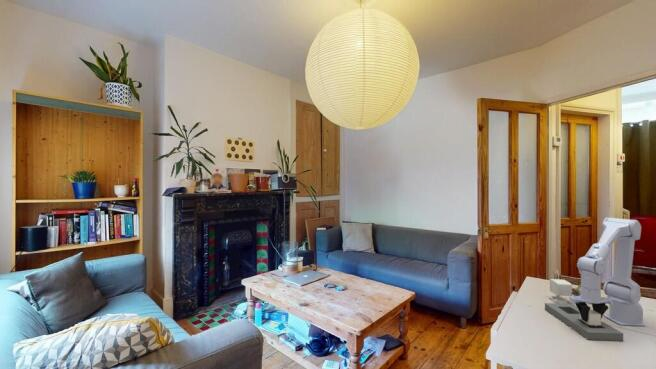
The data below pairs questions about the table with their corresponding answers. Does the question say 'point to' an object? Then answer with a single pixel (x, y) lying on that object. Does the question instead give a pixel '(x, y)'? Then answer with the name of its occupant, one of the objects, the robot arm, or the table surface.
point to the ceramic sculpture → (577, 290)
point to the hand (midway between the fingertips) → (590, 320)
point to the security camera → (560, 290)
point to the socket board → (583, 323)
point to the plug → (592, 318)
